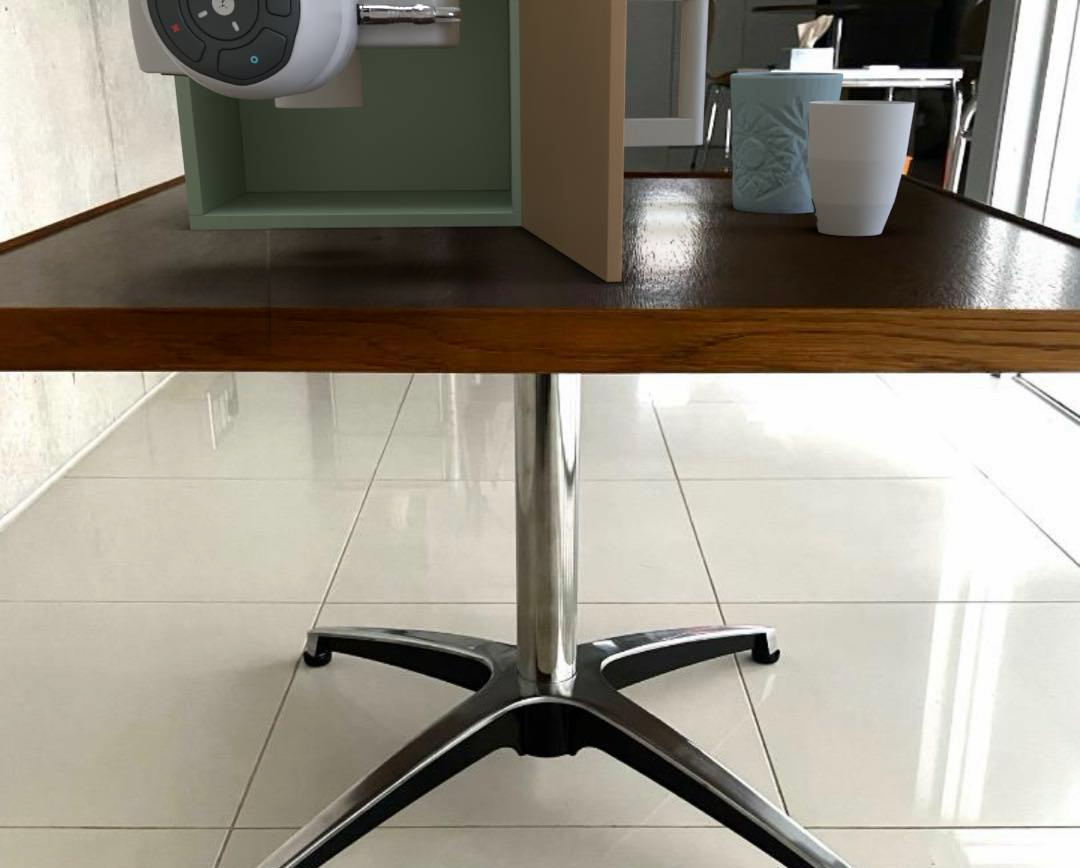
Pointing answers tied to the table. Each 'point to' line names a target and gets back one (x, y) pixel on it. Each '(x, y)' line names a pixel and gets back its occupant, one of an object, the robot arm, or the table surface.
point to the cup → (856, 162)
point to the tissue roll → (332, 90)
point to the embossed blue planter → (775, 138)
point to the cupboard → (369, 142)
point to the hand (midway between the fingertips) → (315, 21)
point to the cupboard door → (591, 121)
